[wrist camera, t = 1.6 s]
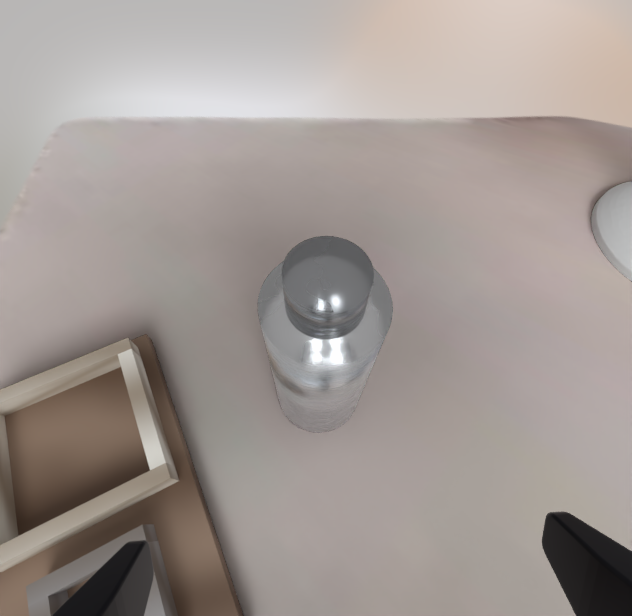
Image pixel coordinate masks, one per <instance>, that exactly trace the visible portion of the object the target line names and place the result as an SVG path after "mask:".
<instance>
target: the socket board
mask: <svg viewBox="0 0 632 616" xmlns="http://www.w3.org/2000/svg"><path fill="white" fill-rule="evenodd" d="M140 540H145V541H147V542H148V543H149V546H150V552H151V557H152V562H153V568H154V575H153V582H152V586H151V590H150V594H149V598H148V602H147V606H146V610H145V614H144V616H243V613H242V610H241V607H240V604H239V601H238V598H237V595H236V592H235V589H234V586H233V583H232V580H231V577H230V574H229V571H228V568H227V565H226V562H225V559H224V556H223V553H222V550H221V547H220V544H219V541H218V538H217V535H216V532H215V529H214V526H213V523H212V520H211V517H210V514H209V511H208V508H207V505H206V502H205V499H204V496H203V493H202V490H201V487H200V484H199V481H198V478H197V475H196V472H195V469H194V466H193V463H192V460H191V457H190V454H189V451H188V448H187V445H186V442H185V439H184V436H183V433H182V430H181V427H180V424H179V421H178V418H177V415H176V412H175V409H174V406H173V403H172V400H171V397H170V394H169V391H168V388H167V385H166V382H165V379H164V376H163V373H162V370H161V367H160V364H159V361H158V358H157V355H156V352H155V349H154V346H153V343H152V340H151V339H150V338H149V337H148V336H147V334H145V335H143V336H140V337H138V338H135V339H133V340H130V339H129V338H126V339H123V340H121V341H118V342H116V343H113V344H111V345H108V346H106V347H104V348H101V349H99V350H96V351H94V352H91V353H89V354H86V355H84V356H81V357H79V358H76V359H74V360H72V361H69V362H67V363H64V364H62V365H59V366H57V367H54V368H52V369H49V370H47V371H45V372H42V373H40V374H37V375H35V376H32V377H30V378H27V379H25V380H22V381H20V382H18V383H15V384H13V385H10V386H8V387H5V388H3V389H0V616H51V615H52V614H53V613H55V612H56V611H57V610H58V609H59V608H60V607H61V606H62V605H63V604H64V603H65V602H66V601H67V600H68V599H69V598H70V597H71V596H72V595H73V594H74V593H75V592H76V591H77V590H78V589H79V588H80V587H81V586H82V585H83V584H84V583H85V582H86V581H87V580H88V579H89V578H91V577H92V576H93V575H94V574H95V573H96V572H97V571H98V570H99V569H100V568H101V567H102V566H103V565H104V564H105V563H106V562H107V561H108V560H109V559H110V558H111V557H112V556H113V555H114V554H115V553H116V552H117V551H118V550H119V549H120V548H121V547H122V546H123V545H125V544H126V543H127V542H129V541H140Z"/></svg>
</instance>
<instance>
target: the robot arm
mask: <svg viewBox="0 0 632 616" xmlns="http://www.w3.org/2000/svg"><path fill="white" fill-rule="evenodd" d="M542 546H543V549H544V552H545V554H546V556H547V558H548V560H549V562H550V564H551V566H552V568H553V570H554V572H555V574H556V576H557V578H558V580H559V582H560V584H561V586H562V588H563V590H564V592H565V594H566V596H567V598H568V600H569V602H570V604H571V606H572V608H573V610H574V612H575V614H576V616H632V551H630V550H629V549H627V548H625V547H624V546H622V545H620V544H619V543H617V542H615V541H614V540H612V539H611V538H609V537H607V536H606V535H604V534H602V533H601V532H599V531H598V530H596V529H594V528H593V527H591V526H589V525H588V524H586V523H584V522H583V521H581V520H580V519H578V518H576V517H575V516H573V515H571V514H570V513H567V512H550V513H548V514H547V516H546V519H545V525H544V531H543V537H542ZM153 575H154V568H153V562H152V557H151V552H150V546H149V543H148V542H147V541H145V540H140V541H129V542H127V543H126V544H125V545H123V546H122V547H121V548H120V549H119V550H118V551H117V552H116V553H115V554H114V555H113V556H112V557H111V558H110V559H109V560H108V561H107V562H106V563H105V564H104V565H103V566H102V567H101V568H100V569H99V570H98V571H97V572H96V573H95V574H94V575H93V576H92V577H91V578H89V579H88V580H87V581H86V582H85V583H84V584H83V585H82V586H81V587H80V588H79V589H78V590H77V591H76V592H75V593H74V594H73V595H72V596H71V597H70V598H69V599H68V600H67V601H66V602H65V603H64V604H63V605H62V606H61V607H60V608H59V609H58V610H57V611H56V612H55V613H53V614H52V615H51V616H144V614H145V610H146V606H147V602H148V598H149V594H150V590H151V586H152V582H153Z"/></svg>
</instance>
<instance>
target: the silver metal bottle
mask: <svg viewBox="0 0 632 616" xmlns="http://www.w3.org/2000/svg"><path fill="white" fill-rule="evenodd" d="M392 313H393V307H392V299H391V295H390V292H389V289H388V287H387V285H386V283H385V281H384V280H383V278H382V277H381V276H380V274H379V273H378V272H377V271H376V270H375V269H374V268H373V266H372V263H371V261H370V259H369V257H368V256H367V255H366V253H365V252H364V251H363V250H362V249H361V248H360V247H358V246H357V245H355V244H354V243H352V242H350V241H348V240H345V239H342V238H339V237H333V236H320V237H314V238H311V239H308V240H305V241H303V242H301V243H299V244H298V245H297V246H295V247H294V248H293V249H292V250H291V251H290V252H289V253H288V255H287V256H286V258H285V260H284V261H283V262H282V263H280V264H279V265H278V266H277V267H276V268H274V269H273V271H272V272H271V273H270V274H269V275H268V277H267V278H266V280H265V281H264V283H263V285H262V288H261V290H260V294H259V298H258V315H259V320H260V325H261V329H262V333H263V337H264V341H265V345H266V349H267V353H268V357H269V361H270V366H271V370H272V374H273V378H274V382H275V386H276V390H277V394H278V398H279V402H280V406H281V408H282V410H283V412H284V414H285V415H286V417H287V418H288V419H289V420H290V421H291V422H292V423H293V424H294V425H296V426H297V427H299V428H301V429H303V430H306V431H309V432H317V433H321V432H328V431H331V430H334V429H336V428H338V427H340V426H341V425H343V424H344V423H345V422H346V421H347V420H348V419H349V418H350V417H351V416H352V414H353V412H354V410H355V408H356V406H357V403H358V401H359V398H360V396H361V394H362V391H363V389H364V386H365V384H366V382H367V379H368V377H369V375H370V372H371V370H372V367H373V365H374V363H375V360H376V358H377V356H378V353H379V351H380V348H381V346H382V344H383V341H384V339H385V336H386V334H387V332H388V329H389V327H390V324H391V320H392Z"/></svg>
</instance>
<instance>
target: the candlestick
mask: <svg viewBox="0 0 632 616" xmlns="http://www.w3.org/2000/svg"><path fill="white" fill-rule="evenodd" d="M591 225H592V231H593V234H594V237H595V240H596V242H597V244H598V246H599V247H600V249H601V251H602V252H603V254H604V255H605V256H606V258H607V259H608V260H609V261H610V262H611V263H612V265H613V266H614V267H615V268H616V269H617V270H618V271H619V272H621V273H622V274H623V275H624V276H625V277H626V278H628V279H629V280H630V281H632V181H630V182H625V183H622V184H619V185H617V186H615V187H613V188H611V189H610V190H608V191H607V192H606V193H605V194H604V195H603V196H602V197H601V198H600V199H599V200H598V202H597V203H596V205H595V206H594V209H593V212H592V216H591Z"/></svg>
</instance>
